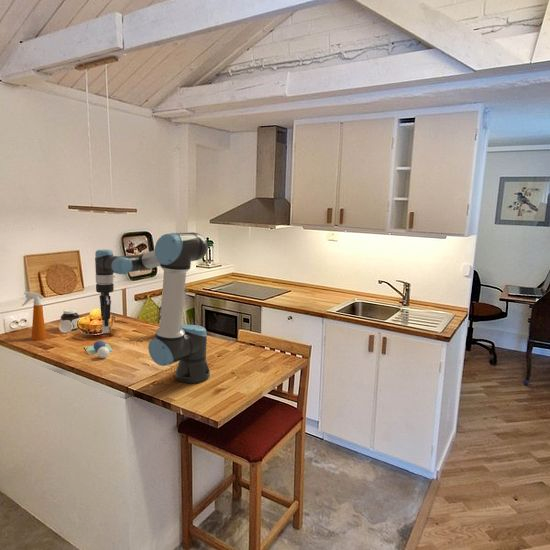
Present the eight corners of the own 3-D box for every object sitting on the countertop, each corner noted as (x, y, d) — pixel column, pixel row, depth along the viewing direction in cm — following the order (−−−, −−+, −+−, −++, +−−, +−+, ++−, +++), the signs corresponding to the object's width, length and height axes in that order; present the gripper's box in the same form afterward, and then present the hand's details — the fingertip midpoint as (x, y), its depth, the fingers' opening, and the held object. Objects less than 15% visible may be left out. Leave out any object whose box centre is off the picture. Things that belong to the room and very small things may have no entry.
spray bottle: (23, 338, 222) (20, 290, 218) (45, 335, 228) (43, 289, 224) (23, 342, 216) (21, 293, 212) (47, 339, 222) (44, 291, 218)
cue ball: (107, 343, 202) (107, 353, 204) (95, 345, 199) (95, 355, 201) (110, 349, 198) (110, 359, 200) (98, 351, 195) (98, 361, 197)
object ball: (106, 340, 207) (103, 339, 212) (94, 342, 204) (92, 340, 209) (106, 351, 207) (104, 349, 212) (95, 353, 204) (92, 351, 209)
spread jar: (78, 326, 247) (77, 307, 246) (83, 331, 239) (82, 311, 237) (55, 329, 240) (55, 310, 238) (60, 334, 231) (59, 314, 229)
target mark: (113, 351, 210) (113, 350, 210) (87, 354, 203) (87, 354, 203) (108, 344, 219) (108, 343, 219) (83, 347, 213) (83, 347, 213)
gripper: (116, 285, 186) (117, 335, 190) (110, 280, 197) (111, 327, 201) (99, 286, 182) (100, 337, 186) (93, 281, 193) (94, 329, 197)
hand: (105, 332), depth 193 cm, fingers closed
